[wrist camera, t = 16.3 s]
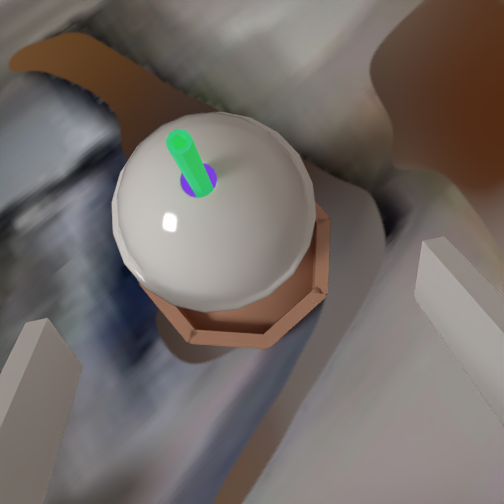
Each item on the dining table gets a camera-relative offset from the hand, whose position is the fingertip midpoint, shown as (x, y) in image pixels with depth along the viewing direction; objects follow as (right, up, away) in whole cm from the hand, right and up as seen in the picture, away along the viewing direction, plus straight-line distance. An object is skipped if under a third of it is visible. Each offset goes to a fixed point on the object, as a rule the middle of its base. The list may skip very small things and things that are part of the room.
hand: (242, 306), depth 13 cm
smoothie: (-1, +2, +16) cm, 16 cm away
